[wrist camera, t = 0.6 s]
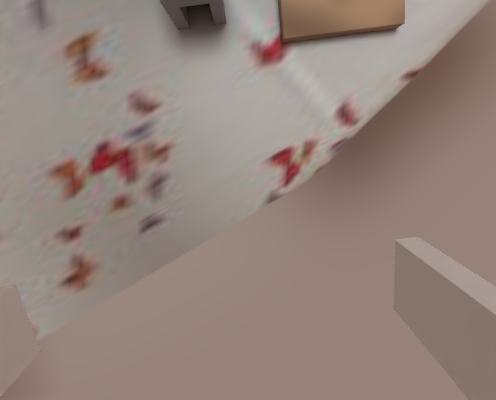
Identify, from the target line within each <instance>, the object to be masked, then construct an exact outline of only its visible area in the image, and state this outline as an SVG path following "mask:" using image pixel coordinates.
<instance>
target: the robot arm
mask: <svg viewBox="0 0 496 400" xmlns="http://www.w3.org/2000/svg"><path fill="white" fill-rule="evenodd" d="M394 275H395V276H394V310H395V311H396V312H397V313H398V315H399V316H400V317H401V318H402V319H403V321H404V322H405V323H406V324H407V325H408V327H409V328H410V329H411V330H412V331H413V333H414V334H415V335H416V336H417V338H418V339H419V340H420V341H421V342H422V344H423V345H424V346H425V347H426V348H427V350H428V351H429V352H430V353H431V355H432V356H433V357H434V358H435V359H436V361H437V362H438V363H439V364H440V365H441V367H442V368H443V369H444V370H445V371H446V373H447V374H448V375H449V376H450V377H451V379H452V380H453V381H454V382H455V383H456V385H457V386H458V387H459V388H460V389H461V391H462V392H463V393H464V394H465V396H466V397H467V398H468V399H469V400H496V287H495V286H494V285H492V284H491V283H489V282H487V281H486V280H484V279H482V278H481V277H480V276H478V275H476V274H475V273H473V272H472V271H470V270H468V269H467V268H465V267H464V266H462V265H461V264H459V263H457V262H456V261H454V260H453V259H451V258H450V257H448V256H446V255H445V254H443V253H442V252H440V251H439V250H437V249H435V248H434V247H432V246H431V245H429V244H428V243H426V242H424V241H423V240H421V239H420V238H418V237H414V238H406V239H397V240H395V274H394ZM40 351H41V350H40V347H39V344H38V342H37V339H36V336H35V334H34V331H33V328H32V326H31V323H30V321H29V318H28V315H27V313H26V310H25V307H24V305H23V302H22V299H21V297H20V294H19V291H18V289H17V286H9V287H1V288H0V397H1V395H2V394H3V393H4V392H5V391H6V390H7V389H8V388H9V386H10V385H11V384H12V383H13V382H14V381H15V380H16V379H17V377H18V376H19V375H20V374H21V373H22V372H23V371H24V370H25V368H26V367H27V366H28V365H29V364H30V363H31V362H32V361H33V359H34V358H35V357H36V356H37V355H38V354H39V352H40Z"/></svg>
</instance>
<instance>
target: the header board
mask: <svg viewBox="0 0 496 400" xmlns="http://www.w3.org/2000/svg"><path fill="white" fill-rule="evenodd" d="M278 3H279V15H280V27H281V39H282V43H286V42H294V41H301V40H309V39H317V38H325V37H333V36H341V35H349V34H357V33H365V32H373V31H380V30H388V29H396V28H398V27H399V26H401V25H402V24H404V19H405V0H278Z"/></svg>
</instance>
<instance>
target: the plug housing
mask: <svg viewBox="0 0 496 400" xmlns="http://www.w3.org/2000/svg"><path fill="white" fill-rule="evenodd" d="M160 2H161V3H162V5H163V6H164V8H165V10H166V11H167V13H168V14H169V16H170V17H171V19H172V21H173V22H174V24H175V25H176V27H177V28H178V29H184V28H190V27H189V20H188V14H187V7H186V6H193V5H201V4H209V5H210V8H211V12H212V16H213V20H214V24H215V25H216V24H223V23H226V17H225V9H224V1H223V0H160Z"/></svg>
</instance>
